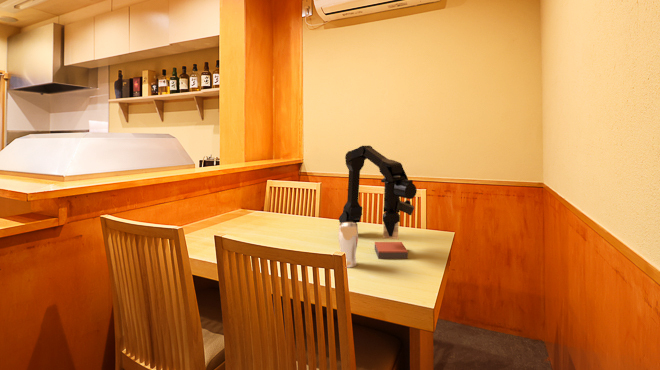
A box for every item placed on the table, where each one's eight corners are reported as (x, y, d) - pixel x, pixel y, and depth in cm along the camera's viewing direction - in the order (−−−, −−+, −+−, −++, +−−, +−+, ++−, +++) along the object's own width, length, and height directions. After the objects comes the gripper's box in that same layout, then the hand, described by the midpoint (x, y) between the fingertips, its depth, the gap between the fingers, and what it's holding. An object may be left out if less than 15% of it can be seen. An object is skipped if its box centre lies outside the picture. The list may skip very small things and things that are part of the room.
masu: (383, 238, 127) (383, 225, 127) (383, 234, 133) (383, 222, 132) (398, 239, 126) (398, 226, 126) (397, 234, 132) (398, 222, 131)
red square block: (378, 260, 125) (378, 251, 125) (374, 250, 136) (374, 242, 136) (407, 260, 125) (407, 251, 125) (401, 250, 136) (401, 241, 135)
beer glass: (345, 259, 124) (345, 220, 122) (361, 263, 120) (361, 223, 118) (334, 265, 119) (334, 224, 117) (351, 269, 115) (351, 227, 113)
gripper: (415, 200, 117) (413, 242, 119) (411, 191, 135) (410, 228, 137) (383, 199, 119) (382, 240, 121) (384, 190, 137) (383, 227, 139)
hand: (390, 234), depth 129 cm, fingers closed on masu, 6 cm apart
